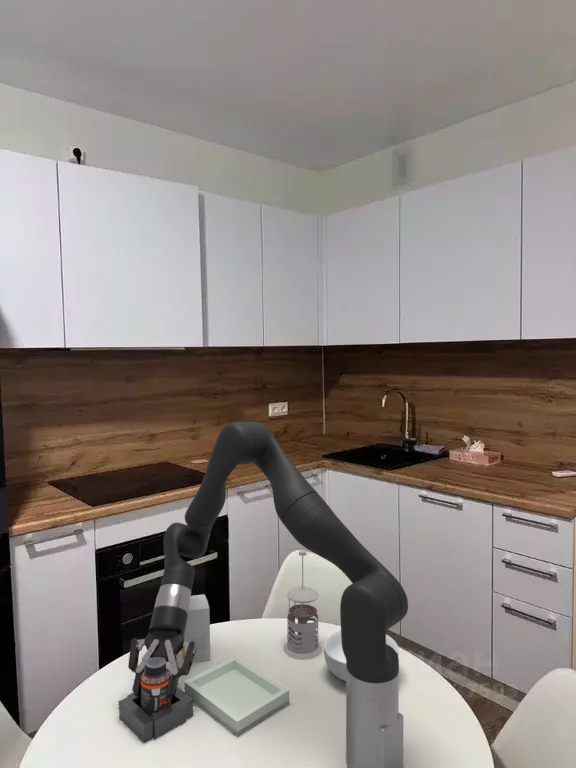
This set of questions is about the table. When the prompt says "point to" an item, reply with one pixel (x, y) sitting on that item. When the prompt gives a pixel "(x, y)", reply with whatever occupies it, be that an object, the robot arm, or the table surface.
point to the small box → (198, 628)
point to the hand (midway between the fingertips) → (153, 696)
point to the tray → (237, 695)
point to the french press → (302, 623)
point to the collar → (155, 715)
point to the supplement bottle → (155, 686)
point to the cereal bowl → (342, 653)
